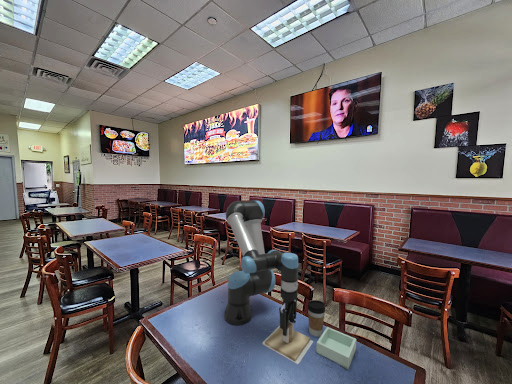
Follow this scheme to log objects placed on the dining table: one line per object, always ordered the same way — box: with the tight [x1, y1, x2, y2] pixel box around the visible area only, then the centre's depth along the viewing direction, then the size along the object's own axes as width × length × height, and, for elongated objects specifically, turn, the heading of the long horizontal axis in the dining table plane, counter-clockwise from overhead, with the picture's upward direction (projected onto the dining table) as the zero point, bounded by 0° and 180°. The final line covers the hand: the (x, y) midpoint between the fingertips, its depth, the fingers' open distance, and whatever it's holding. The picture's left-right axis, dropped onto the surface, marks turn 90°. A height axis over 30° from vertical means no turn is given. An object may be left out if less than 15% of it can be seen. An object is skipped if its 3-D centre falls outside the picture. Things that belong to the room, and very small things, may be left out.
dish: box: [315, 326, 357, 371], centre depth 94 cm, size 13×13×5 cm
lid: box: [264, 323, 311, 362], centre depth 98 cm, size 15×15×8 cm
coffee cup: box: [306, 299, 326, 338], centre depth 105 cm, size 8×8×15 cm
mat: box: [261, 325, 314, 365], centre depth 98 cm, size 18×16×1 cm
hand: (287, 338), depth 98 cm, fingers closed on lid, 3 cm apart
